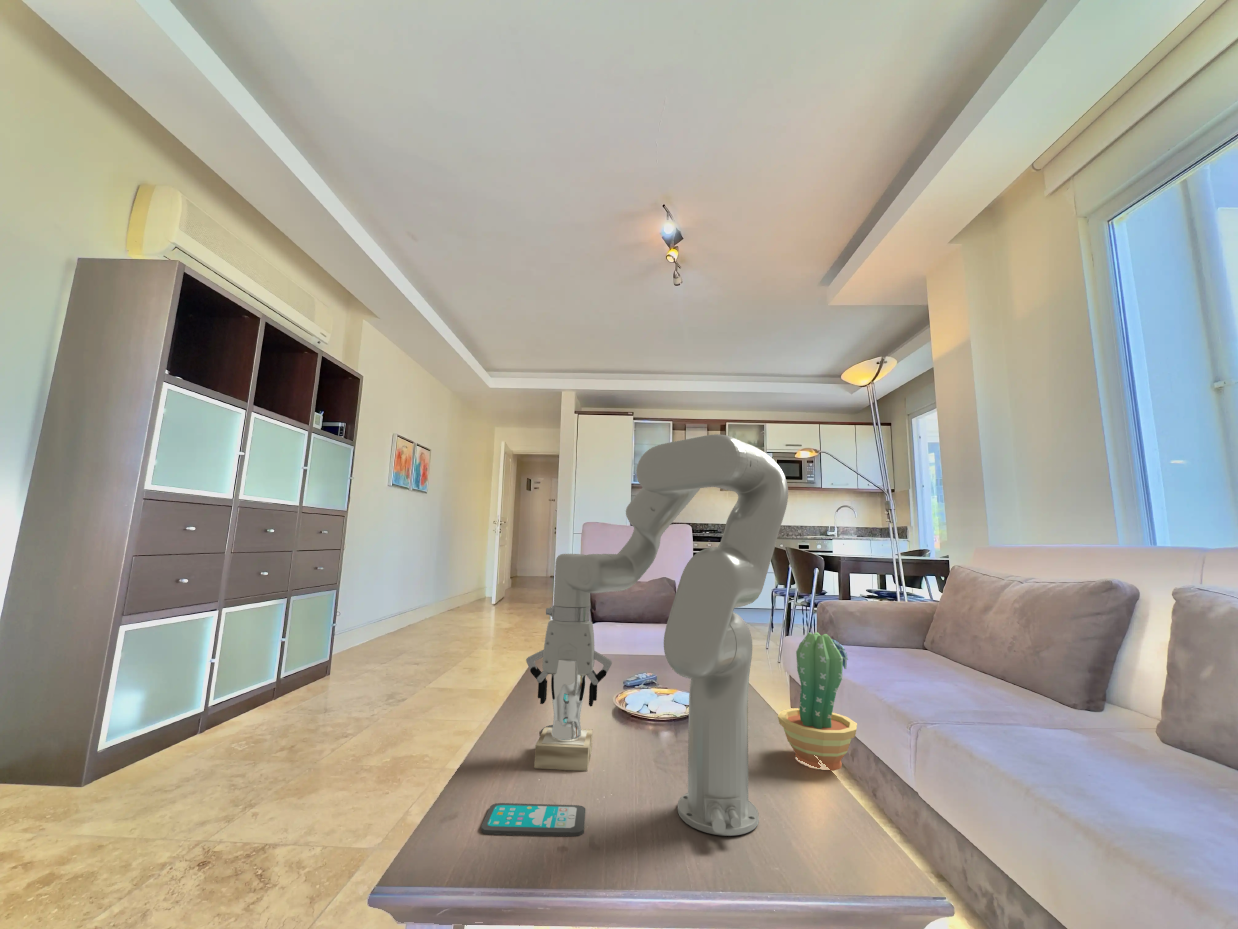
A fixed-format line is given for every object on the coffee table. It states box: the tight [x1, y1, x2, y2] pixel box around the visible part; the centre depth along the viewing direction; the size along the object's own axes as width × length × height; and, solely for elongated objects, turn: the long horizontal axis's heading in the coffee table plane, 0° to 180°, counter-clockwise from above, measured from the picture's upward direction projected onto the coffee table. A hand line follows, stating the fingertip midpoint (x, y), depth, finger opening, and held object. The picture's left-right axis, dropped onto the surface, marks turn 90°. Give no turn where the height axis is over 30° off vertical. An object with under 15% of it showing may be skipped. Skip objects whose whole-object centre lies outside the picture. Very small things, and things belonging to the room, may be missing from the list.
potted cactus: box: [777, 631, 858, 772], centre depth 107 cm, size 15×15×25 cm
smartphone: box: [480, 802, 586, 837], centre depth 79 cm, size 9×1×15 cm
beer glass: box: [550, 660, 587, 742], centre depth 103 cm, size 7×7×15 cm
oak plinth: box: [534, 726, 594, 772], centre depth 102 cm, size 10×10×4 cm
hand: (567, 703), depth 103 cm, fingers open, 9 cm apart
